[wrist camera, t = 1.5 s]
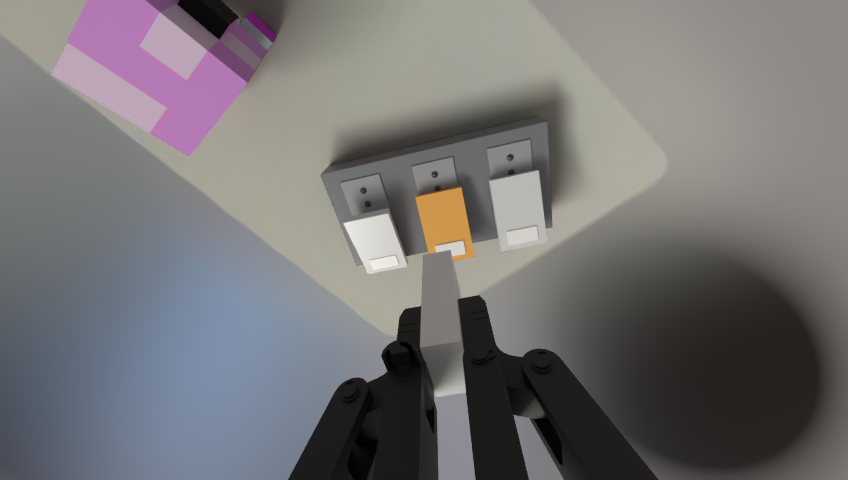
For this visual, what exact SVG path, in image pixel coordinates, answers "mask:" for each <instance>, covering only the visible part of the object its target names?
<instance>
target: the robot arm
mask: <svg viewBox="0 0 848 480" xmlns="http://www.w3.org/2000/svg"><path fill="white" fill-rule="evenodd" d="M381 356H382V359H383V361H384V364H385V366H386V369H387V371H388V372H386V373H385V374H384V375H382V376H381V377H379V378H377V379H374V380H372V381H370V382H368V383H367V382H366V381H365V380H364V379H362V378H351V379H349V380H347V381H345V382H344V383H342V384H341V385H340V386H339V387H338V389H337V390H336V391H335V393H334V395H333V397H332V398H331V400H330V402H329V404H328V406H327V408H326V410H325V412H324V413H323V415H322V417H321V419H320V421H319V423H318V425H317V427H316V428H315V430H314V432H313V434H312V436H311V438H310V440H309V442H308V443H307V445H306V447H305V449H304V451H303V453H302V455H301V456H300V459H299V460H298V462H297V464H296V466H295V468H294V470H293V472H292V473H291V475H290V477H289V479H288V480H438V444H437V410H436V406H435V402H434V392H435V395H436V397H439V396H446V395H453V394H460V393H466V396H467V405H468V414H469V423H470V433H471V442H472V451H473V460H474V469H475V478H476V480H529V478H528V474H527V470H526V466H525V461H524V457H523V453H522V449H521V445H520V441H519V436H518V433H517V428H516V424H515V420H514V416H513V415H517V416H523V417H528V418H530V420H531V422H532V424H533V425H534V427H535V429H536V431H537V432H538V434H539V436H540V438H541V440H542V441H543V443H544V445H545V446H546V448H547V450H548V452H549V454H550V455H551V457H552V459H553V461H554V463H555V464H556V466H557V468H558V470H559V471H560V473H561V475H562V477H563V478H564V480H658V479H657V477H656V476H655V475H654V474H653V472H652V471H651V470H650V469H649V467H648V466H647V465H646V464H645V463H644V461H643V460H642V459H641V458H640V456H639V455H638V454H637V453H636V451H635V450H634V449H633V448H632V447H631V445H630V444H629V443H628V442H627V440H626V439H625V438H624V437H623V435H622V434H621V433H620V432H619V431H618V429H617V428H616V427H615V425H614V424H613V423H612V422H611V420H610V419H609V418H608V417H607V416H606V414H605V413H604V412H603V411H602V409H601V408H600V407H599V406H598V405H597V403H596V402H595V401H594V400H593V398H592V397H591V396H590V395H589V393H588V392H587V391H586V390H585V388H584V387H583V386H582V385H581V383H580V382H579V381H578V380H577V378H576V377H575V376H574V375H573V373H572V372H571V371H570V370H569V368H568V367H567V366H566V365H565V364H564V362H563V361H562V360H561V359H560V357H559V356H557V355H556V354H555V353H554V352H551V351H549V350H546V349H534V350H531V351H529V352H527V353H526V354H525V355H524V356H523V357H517V356H511V355H508V354H505V353H503V352H502V351H500V350H499V348H498V347H497V346H496V343H495V340H494V335H493V331H492V327H491V323H490V319H489V315H488V311H487V307H486V303H485V301H484V300H483V299H482V298H481V297H480V296H479V295H478V296H472V297H466V298H461V296H460V289H459V285H458V280H457V276H456V272H455V267H454V263H453V258H452V254H451V250H447V251H442V252H437V253H432V254H427V255H423V275H422V302H421V306H420V307H414V308H408V309H405V310H404V311H403V313H402V314H401V316H400V318H399V327H398V334H397V341H394V342H392V343H390V344H389V345H387V347H386V348H385V349H384V350H383V353H382V355H381Z"/></svg>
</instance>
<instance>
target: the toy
mask: <svg viewBox="0 0 848 480" xmlns="http://www.w3.org/2000/svg"><path fill="white" fill-rule="evenodd" d="M238 18H239V17H238V16H237V15H236V14H235V13H234V12H233V11H232V10H231V9H230V8H229V7H227V6H226V5H225V4H224V3H223V2H222V1H221V0H88V1H87V3H86V5H85V7H84V9H83V11H82V13H81V15H80V17H79V19H78V21H77V23H76V25H75V27H74V29H73V31H72V33H71V35H70V37H69V39H68V41H67V43H66V45H65V47H64V49H63V51H62V53H61V55H60V57H59V59H58V62H57V64H56V66H55V68H54V70H53V72H52V74H51V75H52V76H54V77H56V78H57V79H59V80H61V81H62V82H64V83H66V84H68V85H69V86H71V87H73V88H74V89H76V90H78V91H79V92H81V93H83V94H84V95H86V96H88V97H89V98H91V99H93V100H95V101H96V102H98V103H100V104H101V105H103V106H105V107H106V108H108V109H110V110H111V111H113V112H115V113H116V114H118V115H120V116H122V117H123V118H125V119H127V120H128V121H130V122H132V123H133V124H135V125H137V126H138V127H140V128H142V129H143V130H145V131H147V132H148V133H150V134H152V135H154V136H155V137H157V138H159V139H160V140H162V141H164V142H165V143H167V144H169V145H170V146H172V147H174V148H175V149H177V150H179V151H181V152H182V153H184V154H186V155H187V156H190V155H191V153H192V152H193V151H194V150H195V148H196V147H197V146H198V145H199V143H200V142H201V141H202V140H203V138H204V137H205V136H206V135H207V133H208V132H209V131H210V130H211V128H212V127H213V126H214V125H215V123H216V122H217V121H218V120H219V118H220V117H221V116H222V115H223V113H224V112H225V111H226V110H227V108H228V107H229V106H230V105H231V103H232V102H233V101H234V100H235V98H236V97H237V96H238V95H239V93H240V92H241V91H242V90H243V88H244V87H245V86H246V85H247V83H248V82H249V80H250V79H251V77H252V75H253V74H254V72H255V70H256V69H257V67H258V66H259V64H260V62H261V61H262V59H263V58H264V56H265V54H266V53H267V49H268V48H269V47H270V46H271V44H272V43H273V42H274V40H275V38H276V37H277V35H276V34H275V33H274V32H273V31H271V30H270V29H269V28H268V27H267V26H266V25H265V24H264V23H263V22H262V21H261V20H260V19H259V18H258V17H257V16H256V15H255V14H254V13H253V12H252V11H250V12H249V13H248V14H247V15H246V16H245V17H244V18H243V20H242V21H241V22H240V24H238V23H237V22H236V20H237V19H238Z"/></svg>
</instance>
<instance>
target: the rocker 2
mask: <svg viewBox="0 0 848 480" xmlns="http://www.w3.org/2000/svg"><path fill="white" fill-rule="evenodd" d="M415 198H416V203H417V207H418V211H419V215H420V220H421V224H422V228H423V232H424V236H425V241H426V245H427V249H428V253H429V254H432V253H437V252H442V251H447V250H451V254H452V258H453V261H456V260H461V259H466V258H472V257H475V255H474V250H473V245H472V240H471V235H470V229H469V224H468V219H467V214H466V209H465V203H464V198H463V193H462V188H461V186H458V187H453V188H449V189H444V190H439V191H435V192H430V193H426V194H421V195H417V196H416V197H415Z"/></svg>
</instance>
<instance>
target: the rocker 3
mask: <svg viewBox="0 0 848 480" xmlns="http://www.w3.org/2000/svg"><path fill="white" fill-rule="evenodd" d="M489 185H490V192H491V198H492V204H493V210H494V216H495V222H496V228H497V234H498V240H499V246H500V250H501V252H503V251H508V250H513V249H519V248H524V247H529V246H534V245H540V244H545V243H547V236H546V228H545V219H544V211H543V202H542V194H541V186H540V177H539V170H531V171H526V172H522V173H517V174H513V175H508V176H504V177H499V178H494V179H490V180H489Z"/></svg>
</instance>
